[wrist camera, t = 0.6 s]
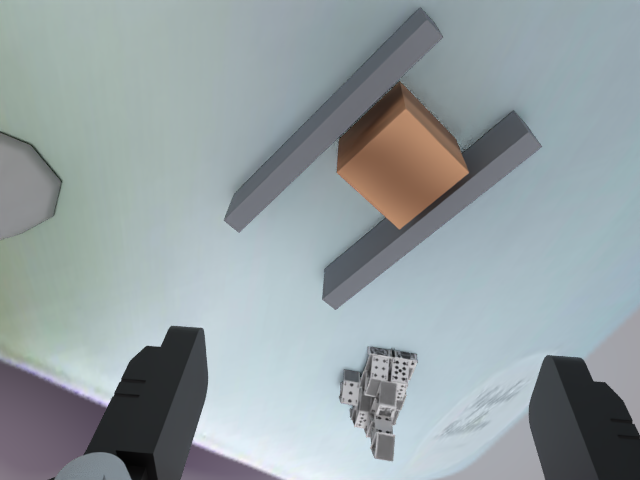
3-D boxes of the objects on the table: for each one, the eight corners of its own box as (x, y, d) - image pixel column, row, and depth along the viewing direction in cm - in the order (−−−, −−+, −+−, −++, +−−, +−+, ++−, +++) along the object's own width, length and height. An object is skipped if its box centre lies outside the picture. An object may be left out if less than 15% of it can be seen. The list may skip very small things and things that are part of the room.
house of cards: (310, 312, 43) (302, 388, 37) (424, 333, 44) (436, 411, 37) (290, 397, 48) (280, 477, 41) (394, 415, 48) (400, 498, 42)
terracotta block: (399, 80, 34) (405, 108, 30) (455, 138, 36) (469, 172, 31) (338, 138, 36) (336, 172, 32) (394, 190, 38) (399, 229, 33)
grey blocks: (420, 6, 32) (427, 19, 29) (526, 124, 35) (542, 146, 32) (234, 194, 38) (223, 220, 35) (336, 279, 41) (335, 310, 38)
